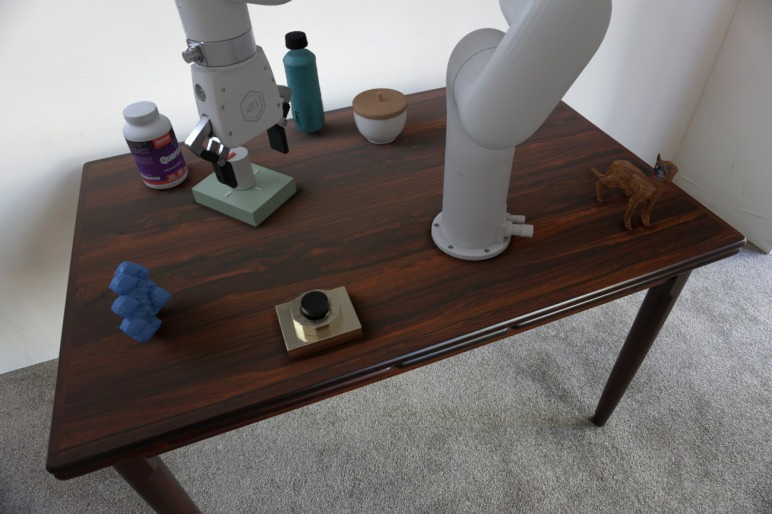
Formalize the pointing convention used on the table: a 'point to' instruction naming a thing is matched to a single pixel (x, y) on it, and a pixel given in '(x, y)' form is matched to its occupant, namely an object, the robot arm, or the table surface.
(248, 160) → the dial
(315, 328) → the button box
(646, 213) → the cat figurine
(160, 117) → the pill bottle
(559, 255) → the table surface
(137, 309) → the blue lumpy lobed piece
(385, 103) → the trinket box
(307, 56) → the beverage bottle
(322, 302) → the button
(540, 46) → the robot arm
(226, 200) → the dial panel
